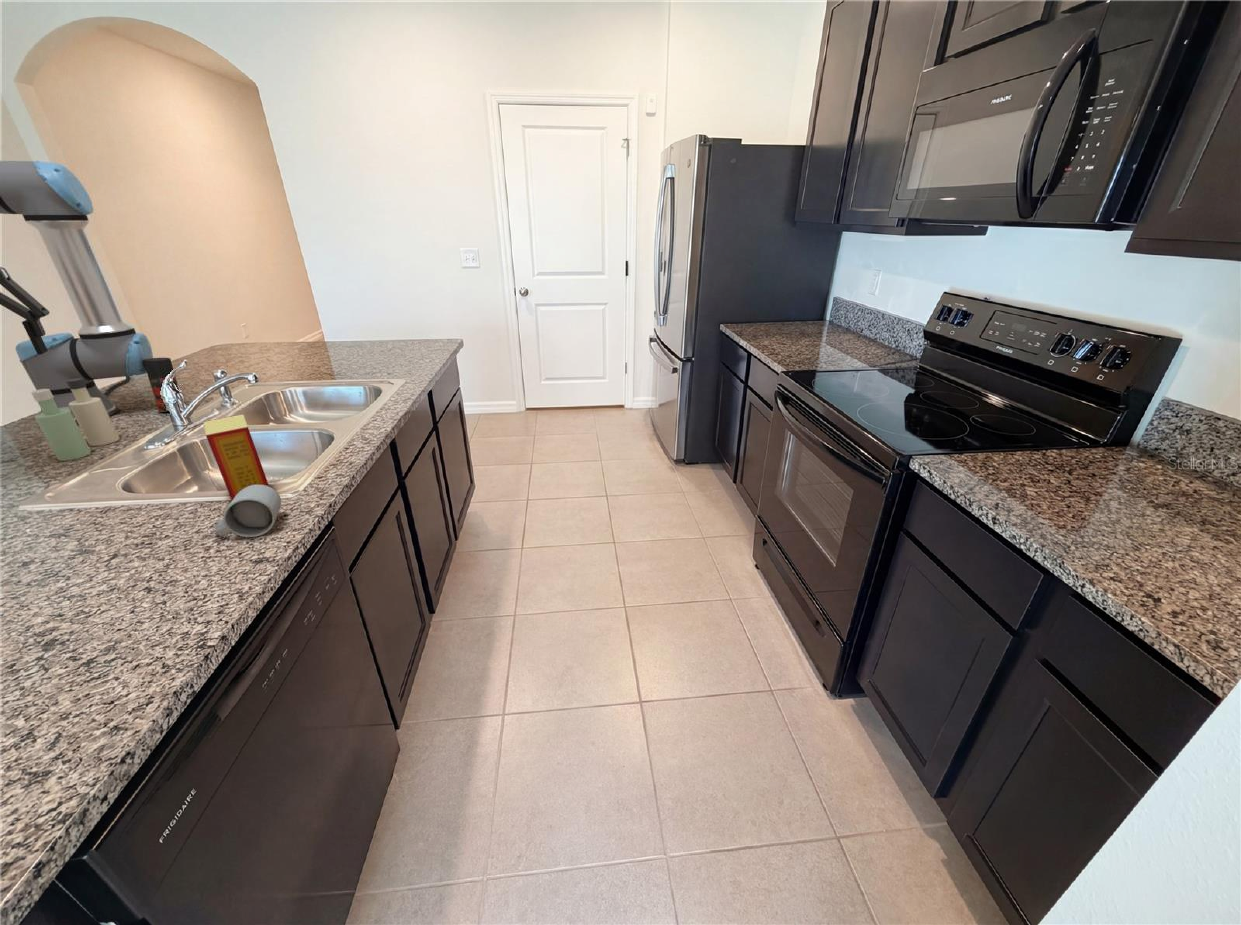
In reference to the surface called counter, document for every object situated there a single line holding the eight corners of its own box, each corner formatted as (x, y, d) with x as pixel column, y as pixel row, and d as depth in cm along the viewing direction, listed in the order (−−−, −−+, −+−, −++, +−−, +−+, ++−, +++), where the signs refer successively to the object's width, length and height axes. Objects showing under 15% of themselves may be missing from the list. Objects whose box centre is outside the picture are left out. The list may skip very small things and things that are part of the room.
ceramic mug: (287, 510, 99) (274, 476, 96) (280, 532, 92) (266, 495, 89) (223, 523, 95) (207, 487, 92) (211, 546, 88) (193, 509, 85)
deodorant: (188, 409, 153) (174, 359, 147) (163, 413, 148) (148, 361, 142) (179, 406, 155) (165, 356, 150) (154, 409, 151) (139, 359, 145)
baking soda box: (231, 490, 107) (202, 419, 100) (267, 481, 110) (242, 412, 103) (235, 508, 100) (205, 434, 93) (273, 497, 104) (247, 425, 97)
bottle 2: (96, 438, 132) (66, 377, 125) (124, 435, 134) (95, 375, 127) (84, 447, 127) (51, 384, 120) (112, 444, 129) (82, 381, 122)
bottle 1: (66, 452, 125) (32, 388, 117) (96, 449, 126) (63, 385, 119) (52, 462, 120) (15, 395, 112) (83, 458, 121) (48, 393, 114)
